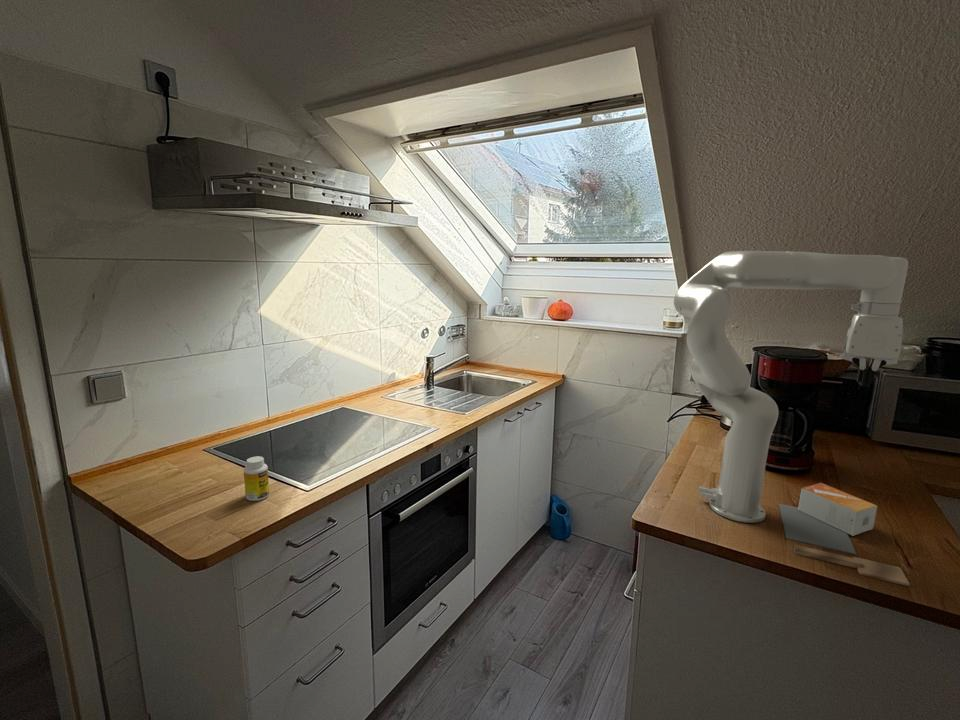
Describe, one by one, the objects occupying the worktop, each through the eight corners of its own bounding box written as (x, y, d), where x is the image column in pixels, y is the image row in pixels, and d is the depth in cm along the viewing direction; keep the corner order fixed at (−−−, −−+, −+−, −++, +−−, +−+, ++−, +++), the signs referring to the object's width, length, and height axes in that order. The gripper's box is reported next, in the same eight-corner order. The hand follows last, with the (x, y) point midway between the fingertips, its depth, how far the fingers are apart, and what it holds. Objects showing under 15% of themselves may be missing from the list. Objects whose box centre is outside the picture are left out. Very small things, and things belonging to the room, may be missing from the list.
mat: (786, 538, 111) (786, 537, 111) (778, 504, 127) (779, 503, 127) (856, 554, 106) (856, 553, 106) (839, 517, 122) (839, 516, 122)
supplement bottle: (261, 503, 121) (258, 464, 119) (240, 500, 122) (237, 462, 120) (274, 492, 127) (271, 455, 125) (254, 490, 127) (251, 454, 125)
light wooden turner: (795, 558, 104) (796, 553, 104) (792, 544, 109) (793, 539, 109) (909, 586, 96) (910, 581, 95) (899, 569, 101) (900, 564, 101)
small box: (857, 511, 111) (800, 487, 123) (853, 536, 112) (797, 510, 124) (878, 504, 114) (820, 482, 126) (873, 529, 116) (816, 504, 127)
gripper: (843, 309, 115) (829, 384, 119) (924, 314, 108) (907, 393, 112) (836, 307, 122) (824, 378, 125) (913, 311, 115) (897, 386, 119)
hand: (863, 385), depth 119 cm, fingers closed
